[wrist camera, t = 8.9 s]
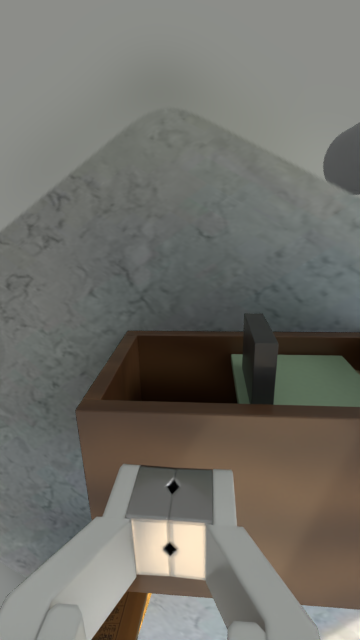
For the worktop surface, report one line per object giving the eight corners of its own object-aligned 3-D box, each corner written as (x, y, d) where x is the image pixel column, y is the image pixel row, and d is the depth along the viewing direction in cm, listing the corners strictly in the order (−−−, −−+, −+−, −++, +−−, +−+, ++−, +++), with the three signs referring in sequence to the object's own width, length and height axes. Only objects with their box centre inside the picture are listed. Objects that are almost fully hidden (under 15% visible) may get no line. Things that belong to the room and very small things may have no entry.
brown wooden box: (127, 330, 26) (74, 410, 16) (372, 332, 24) (495, 422, 14) (138, 459, 30) (101, 590, 20) (348, 468, 29) (427, 615, 18)
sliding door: (232, 303, 23) (245, 353, 15) (349, 303, 23) (429, 355, 15) (230, 360, 25) (241, 433, 17) (340, 362, 24) (408, 439, 16)
